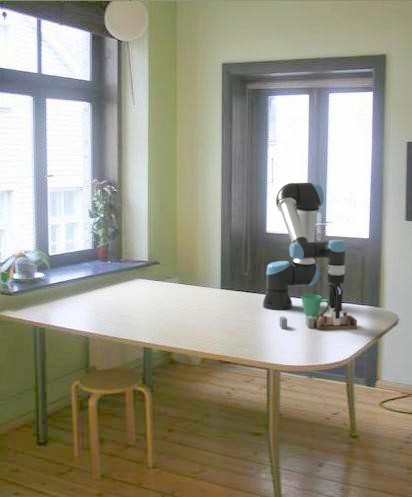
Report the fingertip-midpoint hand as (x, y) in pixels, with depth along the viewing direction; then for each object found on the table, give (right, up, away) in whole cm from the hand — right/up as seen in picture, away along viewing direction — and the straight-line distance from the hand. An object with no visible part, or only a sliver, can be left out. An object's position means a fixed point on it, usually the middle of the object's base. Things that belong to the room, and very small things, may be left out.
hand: (334, 323), depth 332 cm
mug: (-6, +1, +20) cm, 20 cm away
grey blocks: (-18, -2, +1) cm, 18 cm away
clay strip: (0, 0, 0) cm, 0 cm away
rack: (0, -2, 0) cm, 2 cm away
